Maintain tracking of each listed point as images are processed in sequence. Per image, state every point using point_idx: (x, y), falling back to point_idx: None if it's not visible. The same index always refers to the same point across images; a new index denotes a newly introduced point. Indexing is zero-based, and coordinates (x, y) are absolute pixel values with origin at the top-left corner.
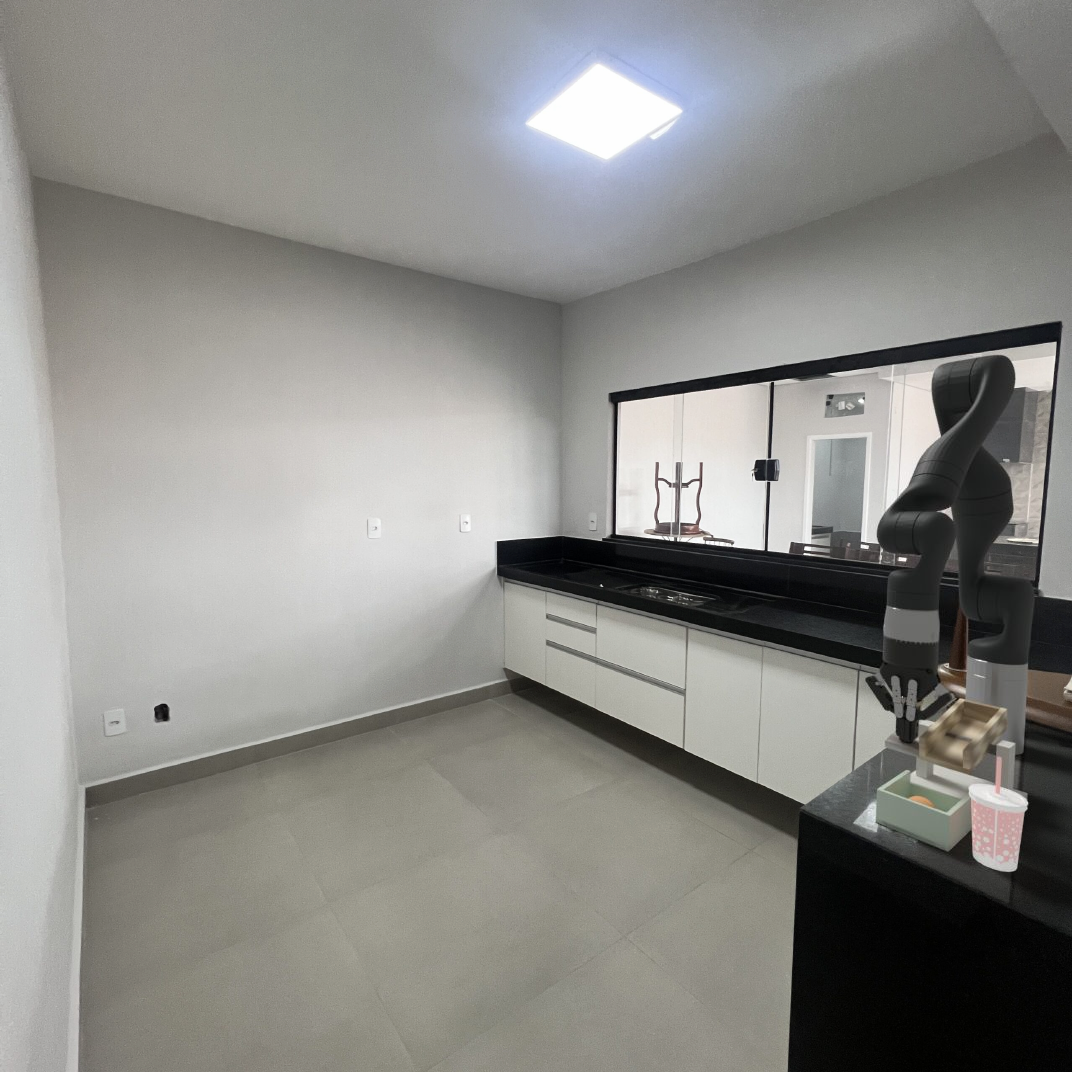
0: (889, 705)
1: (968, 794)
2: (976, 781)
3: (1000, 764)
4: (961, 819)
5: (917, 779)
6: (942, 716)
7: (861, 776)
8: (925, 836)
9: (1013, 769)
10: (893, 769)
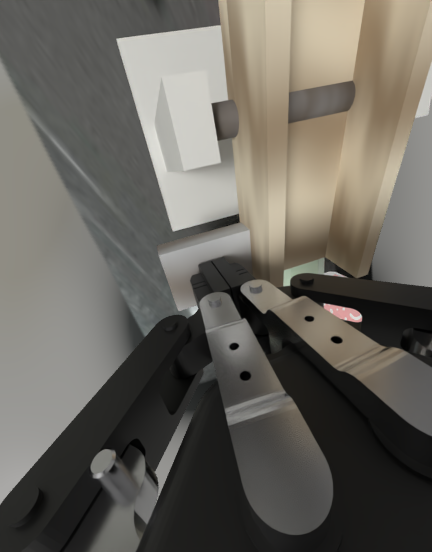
0: (199, 378)
1: (319, 270)
2: None
3: None
4: None
5: (181, 187)
6: (271, 104)
7: (112, 256)
8: None
9: None
10: (101, 155)
